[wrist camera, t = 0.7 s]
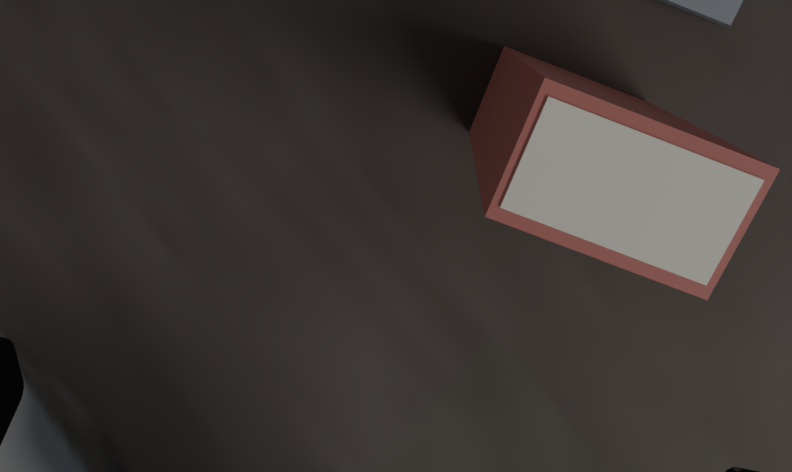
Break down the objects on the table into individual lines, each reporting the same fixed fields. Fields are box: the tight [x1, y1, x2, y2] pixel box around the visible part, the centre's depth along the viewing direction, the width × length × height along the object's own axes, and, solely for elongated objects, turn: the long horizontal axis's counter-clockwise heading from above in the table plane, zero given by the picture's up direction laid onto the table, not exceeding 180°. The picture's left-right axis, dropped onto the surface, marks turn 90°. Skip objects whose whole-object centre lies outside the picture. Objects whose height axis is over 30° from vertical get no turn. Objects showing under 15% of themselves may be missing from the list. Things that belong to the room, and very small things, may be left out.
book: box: [469, 46, 780, 300], centre depth 19 cm, size 3×5×10 cm, turn 70°
